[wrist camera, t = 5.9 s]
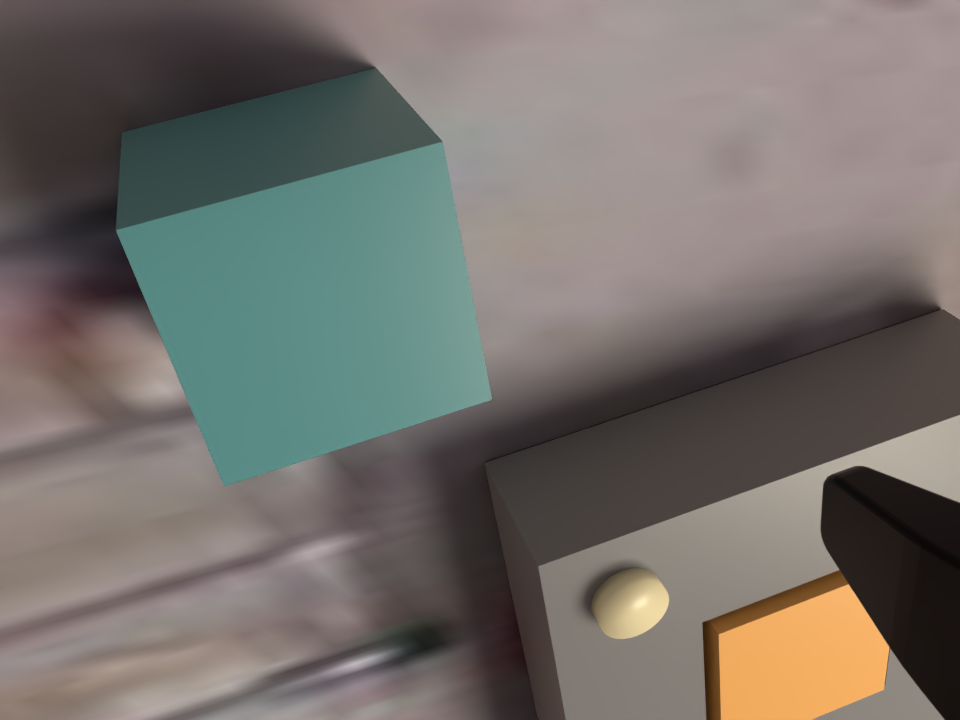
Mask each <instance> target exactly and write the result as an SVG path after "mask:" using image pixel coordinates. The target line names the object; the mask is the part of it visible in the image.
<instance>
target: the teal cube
mask: <svg viewBox="0 0 960 720" xmlns="http://www.w3.org/2000/svg"><path fill="white" fill-rule="evenodd" d="M116 232H117V234H118V237H119V239H120V241H121V244H122V246H123V248H124V251H125V253H126V256H127V258H128V260H129V263H130V265H131V267H132V270H133V272H134V275H135V277H136V279H137V282H138V284H139V286H140V289H141V291H142V293H143V296H144V298H145V301H146V303H147V305H148V308H149V310H150V312H151V315H152V317H153V319H154V322H155V324H156V327H157V329H158V331H159V334H160V336H161V338H162V341H163V343H164V346H165V348H166V350H167V353H168V355H169V357H170V360H171V362H172V364H173V367H174V369H175V372H176V374H177V376H178V379H179V381H180V383H181V386H182V388H183V390H184V393H185V395H186V398H187V400H188V402H189V405H190V407H191V409H192V412H193V414H194V417H195V419H196V421H197V424H198V426H199V428H200V431H201V433H202V435H203V438H204V440H205V443H206V445H207V447H208V450H209V452H210V454H211V457H212V459H213V461H214V464H215V466H216V469H217V471H218V473H219V476H220V478H221V480H222V483H223V485H224V486H227V485H230V484H233V483H236V482H239V481H243V480H246V479H249V478H252V477H255V476H258V475H261V474H264V473H267V472H270V471H273V470H277V469H280V468H283V467H286V466H289V465H292V464H295V463H298V462H301V461H304V460H307V459H310V458H314V457H317V456H320V455H323V454H326V453H329V452H332V451H335V450H338V449H341V448H344V447H348V446H351V445H354V444H357V443H360V442H363V441H366V440H369V439H372V438H375V437H378V436H382V435H385V434H388V433H391V432H394V431H397V430H400V429H403V428H406V427H409V426H412V425H415V424H419V423H422V422H425V421H428V420H431V419H434V418H437V417H440V416H443V415H446V414H449V413H453V412H456V411H459V410H462V409H465V408H468V407H471V406H474V405H477V404H480V403H483V402H486V401H490V400H492V396H491V391H490V386H489V381H488V376H487V370H486V365H485V360H484V355H483V350H482V344H481V339H480V334H479V329H478V324H477V318H476V313H475V308H474V303H473V298H472V292H471V287H470V282H469V277H468V272H467V266H466V261H465V256H464V251H463V246H462V240H461V235H460V230H459V225H458V220H457V214H456V209H455V204H454V199H453V194H452V188H451V183H450V178H449V173H448V168H447V162H446V157H445V152H444V147H443V142H442V141H441V139H440V138H439V137H438V136H437V135H436V134H435V133H434V132H433V131H432V129H431V128H430V127H429V126H428V125H427V124H426V123H425V122H424V121H423V119H422V118H421V117H420V116H419V115H418V114H417V113H416V112H415V111H414V109H413V108H412V107H411V106H410V105H409V104H408V103H407V102H406V101H405V99H404V98H403V97H402V96H401V95H400V94H399V93H398V92H397V91H396V89H395V88H394V87H393V86H392V85H391V84H390V83H389V82H388V81H387V79H386V78H385V77H384V76H383V75H382V74H381V73H380V72H379V71H378V69H377V68H373V69H370V70H366V71H362V72H358V73H354V74H350V75H346V76H342V77H338V78H334V79H330V80H326V81H322V82H318V83H314V84H310V85H306V86H302V87H298V88H295V89H291V90H287V91H283V92H279V93H275V94H271V95H267V96H263V97H259V98H255V99H251V100H247V101H243V102H239V103H235V104H231V105H227V106H224V107H220V108H216V109H212V110H208V111H204V112H200V113H196V114H192V115H188V116H184V117H180V118H176V119H172V120H168V121H164V122H160V123H156V124H152V125H149V126H145V127H141V128H137V129H133V130H129V131H125V132H122V140H121V156H120V172H119V187H118V203H117V219H116Z"/></svg>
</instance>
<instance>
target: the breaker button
mask: <svg viewBox="0 0 960 720" xmlns="http://www.w3.org/2000/svg"><path fill="white" fill-rule="evenodd" d="M702 627H703V651H704V676H705V701H706V720H812V719H814V718H817V717H819V716H822V715H824V714H826V713H829V712H831V711H834V710H836V709H839V708H841V707H843V706H846V705H848V704H851V703H853V702H856V701H858V700H861V699H863V698H865V697H868V696H870V695H873V694H875V693H878V692H880V691H882V690H884V685H885V677H886V670H887V662H888V654H889V646H888V644H887V643H886V641H885V640H884V638H883V637H882V635H881V634H880V632H879V630H878V629H877V627H876V626H875V624H874V623H873V621H872V620H871V618H870V617H869V615H868V613H867V612H866V610H865V609H864V607H863V606H862V604H861V603H860V601H859V599H858V598H857V596H856V595H855V593H854V592H853V590H852V589H851V587H850V586H849V584H848V582H847V581H846V579H845V578H844V576H843V575H842V573H841V572H840V570H838V571H836V572H833V573H830V574H828V575H825V576H823V577H820V578H817V579H815V580H812V581H809V582H807V583H804V584H802V585H799V586H796V587H794V588H791V589H789V590H786V591H783V592H781V593H778V594H776V595H773V596H770V597H768V598H765V599H762V600H760V601H757V602H755V603H752V604H749V605H747V606H744V607H742V608H739V609H736V610H734V611H731V612H728V613H726V614H723V615H721V616H718V617H715V618H713V619H710V620H708V621H705V622H702Z"/></svg>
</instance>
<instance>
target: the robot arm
mask: <svg viewBox="0 0 960 720" xmlns="http://www.w3.org/2000/svg"><path fill="white" fill-rule="evenodd" d="M820 530H821V537H822V540H823V543H824V545H825V548H826V550H827V551H828V553H829V555H830V556H831V558H832V559H833V561H834V562H835V564H836V565H837V567H838V568H839V570H840V572H841V573H842V575H843V576H844V578H845V579H846V581H847V582H848V584H849V586H850V587H851V589H852V590H853V592H854V593H855V595H856V596H857V598H858V599H859V601H860V603H861V604H862V606H863V607H864V609H865V610H866V612H867V613H868V615H869V617H870V618H871V620H872V621H873V623H874V624H875V626H876V627H877V629H878V630H879V632H880V634H881V635H882V637H883V638H884V640H885V641H886V643H887V644H888V646H889V648H890V649H891V650H892V652H893V653H894V655H895V656H896V658H897V659H898V661H899V662H900V664H901V665H902V667H903V668H904V669H905V670H906V672H907V673H908V674H909V676H910V677H911V678H912V680H913V681H914V682H915V684H916V685H917V686H918V687H919V689H920V690H921V691H922V692H923V694H924V695H925V696H926V697H927V699H928V700H929V701H930V702H931V704H932V705H933V706H934V707H935V709H936V710H937V711H938V712H939V714H940V715H941V716H942V717H943V719H944V720H960V502H957V501H955V500H952V499H949V498H947V497H944V496H942V495H939V494H936V493H934V492H931V491H929V490H926V489H923V488H921V487H918V486H916V485H913V484H910V483H908V482H905V481H903V480H900V479H897V478H895V477H892V476H890V475H887V474H885V473H882V472H879V471H877V470H874V469H872V468H869V467H865V466H854V467H851V468H848V469H845V470H842V471H840V472H837V473H834V474H831V475H829V476H828V477H827V478H826V480H825V481H824V483H823V493H822V509H821V525H820Z"/></svg>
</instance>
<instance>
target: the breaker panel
mask: <svg viewBox="0 0 960 720" xmlns="http://www.w3.org/2000/svg"><path fill="white" fill-rule="evenodd" d="M484 464H485V469H486V474H487V478H488V483H489V488H490V493H491V497H492V502H493V507H494V512H495V517H496V521H497V526H498V531H499V536H500V541H501V545H502V550H503V555H504V560H505V565H506V569H507V574H508V579H509V584H510V589H511V593H512V598H513V603H514V608H515V613H516V617H517V622H518V627H519V632H520V637H521V641H522V646H523V651H524V656H525V661H526V665H527V670H528V675H529V680H530V685H531V689H532V694H533V699H534V704H535V709H536V713H537V718H538V720H706V701H705V676H704V651H703V627H702V622H705V621H708V620H710V619H713V618H715V617H718V616H721V615H723V614H726V613H728V612H731V611H734V610H736V609H739V608H742V607H744V606H747V605H749V604H752V603H755V602H757V601H760V600H762V599H765V598H768V597H770V596H773V595H776V594H778V593H781V592H783V591H786V590H789V589H791V588H794V587H796V586H799V585H802V584H804V583H807V582H809V581H812V580H815V579H817V578H820V577H823V576H825V575H828V574H830V573H833V572H836V571H838V570H839V568H838V567H837V565H836V564H835V562H834V561H833V559H832V558H831V556H830V555H829V553H828V551H827V550H826V548H825V545H824V543H823V540H822V537H821V530H820V525H821V509H822V493H823V483H824V481H825V480H826V478H827V477H828V476H829V475H831V474H834V473H837V472H840V471H842V470H845V469H848V468H851V467H854V466H865V467H869V468H872V469H874V470H877V471H879V472H882V473H885V474H887V475H890V476H892V477H895V478H897V479H900V480H903V481H905V482H908V483H910V484H913V485H916V486H918V487H921V488H923V489H926V490H929V491H931V492H934V493H936V494H939V495H942V496H944V497H947V498H949V499H952V500H955V501H957V502H960V320H959V319H958V318H956V317H955V316H953V315H951V314H950V313H948V312H947V311H945V310H943V309H942V310H939V311H936V312H933V313H930V314H927V315H924V316H921V317H918V318H915V319H912V320H909V321H906V322H903V323H900V324H897V325H894V326H891V327H888V328H885V329H882V330H879V331H876V332H873V333H870V334H867V335H864V336H861V337H858V338H855V339H852V340H849V341H846V342H843V343H840V344H837V345H834V346H832V347H829V348H826V349H823V350H820V351H817V352H814V353H811V354H808V355H805V356H802V357H799V358H796V359H793V360H790V361H787V362H784V363H781V364H778V365H775V366H772V367H769V368H766V369H763V370H760V371H757V372H754V373H751V374H748V375H745V376H742V377H739V378H736V379H733V380H730V381H727V382H724V383H721V384H718V385H715V386H712V387H709V388H706V389H703V390H700V391H697V392H694V393H691V394H688V395H685V396H682V397H679V398H677V399H674V400H671V401H668V402H665V403H662V404H659V405H656V406H653V407H650V408H647V409H644V410H641V411H638V412H635V413H632V414H629V415H626V416H623V417H620V418H617V419H614V420H611V421H608V422H605V423H602V424H599V425H596V426H593V427H590V428H587V429H584V430H581V431H578V432H575V433H572V434H569V435H566V436H563V437H560V438H557V439H554V440H551V441H548V442H545V443H542V444H539V445H536V446H533V447H530V448H527V449H525V450H522V451H519V452H516V453H513V454H510V455H507V456H504V457H501V458H498V459H495V460H492V461H489V462H486V463H484ZM812 720H944V719H943V717H942V716H941V715H940V714H939V712H938V711H937V710H936V709H935V707H934V706H933V705H932V704H931V702H930V701H929V700H928V699H927V697H926V696H925V695H924V694H923V692H922V691H921V690H920V689H919V687H918V686H917V685H916V684H915V682H914V681H913V680H912V678H911V677H910V676H909V674H908V673H907V672H906V670H905V669H904V668H903V667H902V665H901V664H900V662H899V661H898V659H897V658H896V656H895V655H894V653H893V652H892V650H891V649H890V648H889V654H888V662H887V670H886V677H885V685H884V690H882V691H880V692H878V693H875V694H873V695H870V696H868V697H865V698H863V699H861V700H858V701H856V702H853V703H851V704H848V705H846V706H843V707H841V708H839V709H836V710H834V711H831V712H829V713H826V714H824V715H822V716H819V717H817V718H814V719H812Z"/></svg>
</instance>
